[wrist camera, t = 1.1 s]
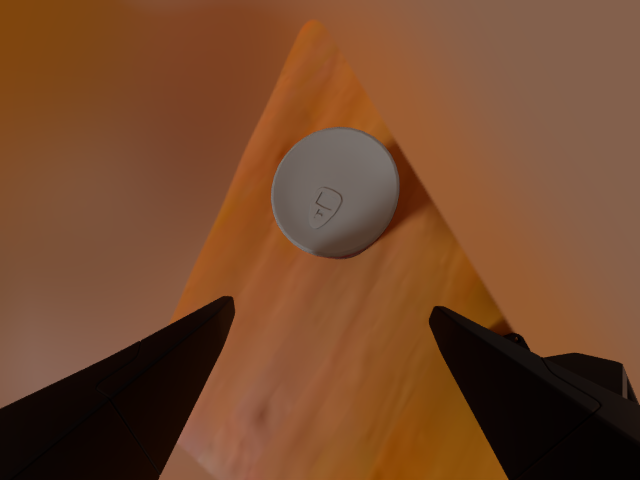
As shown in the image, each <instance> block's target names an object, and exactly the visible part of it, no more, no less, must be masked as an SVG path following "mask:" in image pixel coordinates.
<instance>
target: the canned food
mask: <svg viewBox="0 0 640 480" xmlns="http://www.w3.org/2000/svg"><path fill="white" fill-rule="evenodd" d="M398 197H399V175H398V171H397V167H396V164H395V162H394V160H393V158H392V156H391V154H390V153H389V152H388V150H387V149H386V148H385V146H384V145H383V144H382V143H381V142H379V141H378V140H377V139H376V138H375V137H373V136H371V135H369V134H367V133H365V132H364V131H361V130H357V129H353V128H346V127H334V128H326V129H323V130H320V131H317V132H314V133H312V134H310V135H308V136H307V137H305V138H303V139H302V140H301V141H299V142H298V143H297V144H295V145H294V146H293V147H292V148H291V149H290V150H289V152H288V153H287V154H286V155H285V156H284V158H283V160H282V161H281V163H280V164H279V166H278V169H277V171H276V174H275V176H274V180H273V184H272V192H271V202H272V209H273V214H274V216H275V219H276V222H277V224H278V226H279V227H280V229H281V230H282V232H283V234H284V235H285V236H286V237H287V238H288V239H289V240H290V241H291V242H292V243H293V244H294V245H296V246H297V247H299V248H300V249H302V250H303V251H305V252H308V253H310V254H313V255H316V256H320V257H326V258H333V259H347V258H351V257H354V256H356V255H359V254H360V253H362V252H363V251H365V250H366V249H367V248H368V247H369V246H370V245H372V244H373V243H374V242H375V241H376V240H377V239H378V238H379V237H380V235H381V234H382V233H383V232H384V231H385V229H386V228H387V226H388V224H389V223H390V221H391V220H392V217H393V215H394V212H395V210H396V207H397V203H398Z"/></svg>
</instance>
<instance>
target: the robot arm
mask: <svg viewBox="0 0 640 480" xmlns="http://www.w3.org/2000/svg"><path fill="white" fill-rule="evenodd" d="M234 316H235V307H234V300H233V297H231V296H223V297H221V298H219V299H217V300H215V301H213V302H211V303H209V304H208V305H206V306H204V307H202V308H200V309H198V310H196V311H195V312H193V313H191V314H189V315H187V316H185V317H183V318H182V319H180V320H178V321H176V322H174V323H172V324H170V325H169V326H167V327H165V328H163V329H161V330H159V331H158V332H155V333H154V334H152V335H150V336H148V337H146V338H145V339H142V340H141V342H140V341H138V342H136V343H134V344H133V345H131V346H129V347H127V348H125V349H123V350H121V351H119V352H117V353H115V354H114V355H111V356H110V357H108V358H106V359H103V360H101V361H99V362H97V363H95V364H93V365H91V366H89V367H87V368H85V369H83V370H81V371H79V372H77V373H74V374H72V375H70V376H68V377H66V378H64V379H62V380H60V381H57V382H56V383H53V384H51V385H49V386H47V387H45V388H43V389H41V390H39V391H37V392H34V393H32V394H30V395H28V396H26V397H24V398H22V399H20V400H18V401H15V402H14V403H11V404H9V405H7V406H5V407H3V408H1V409H0V480H158V479H159V477H160V476H159V475H161V473H162V471H163V469H164V467H165V465H166V463H167V461H168V459H169V457H170V455H171V453H172V451H173V449H174V446H175V445H176V443H177V441H178V439H179V436H180V434H181V432H182V430H183V428H184V426H185V424H186V422H187V420H188V418H189V416H190V414H191V412H192V410H193V408H194V406H195V404H196V402H197V400H198V398H199V396H200V394H201V392H202V390H203V388H204V386H205V383H206V381H207V379H208V377H209V375H210V373H211V371H212V369H213V367H214V365H215V363H216V361H217V359H218V357H219V355H220V353H221V351H222V349H223V347H224V344H225V341H226V339H227V336H228V333H229V330H230V327H231V324H232V322H233V319H234ZM429 325H430V328H431V330H432V333H433V335H434V338H435V340H436V342H437V345H438V347H439V350H440V352H441V354H442V356H443V358H444V360H445V362H446V364H447V366H448V367H449V369H450V371H451V373H452V375H453V377H454V379H455V381H456V382H457V384H458V386H459V388H460V390H461V392H462V394H463V395H464V397H465V399H466V401H467V403H468V405H469V407H470V408H471V410H472V412H473V414H474V416H475V418H476V420H477V422H478V423H479V425H480V427H481V429H482V431H483V433H484V435H485V436H486V438H487V440H488V442H489V444H490V446H491V448H492V449H493V451H494V453H495V455H496V457H497V459H498V461H499V463H500V464H501V466H502V468H503V470H504V472H505V474H506V476H507V477H508V479H509V480H640V405H639V403H638V401H637V398H636V396H635V393H634V391H633V388H632V387H631V384H630V382H629V379H628V377H627V374H626V372H625V369H624V367H623V364H621V363H619V362H616V361H612V360H607V359H602V358H598V357H594V356H589V355H584V354H580V353H569V354H563V355H556V356H550V357H545V358H543V357H540V356H538V355H537V354H535V353H533V352H531V351H530V349H529V347H528V346H527V344H526V342H525V340H524V338H523V337H522V336H521V335H519V334H517V333H511V334H508V335H505V336H503V337H502V336H500V335H498V334H496V333H494V332H492V331H490V330H489V329H487V328H485V327H483V326H481V325H479V324H477V323H475V322H473V321H471V320H469V319H467V318H465V317H464V316H462V315H460V314H458V313H456V312H454V311H452V310H450V309H448V308H446V307H444V306H435V307H434V308H433V310H432V313H431V315H430V318H429ZM516 337H517V338H518V340H517V341H516V342H515V340H514V339H515V338H516Z"/></svg>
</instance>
